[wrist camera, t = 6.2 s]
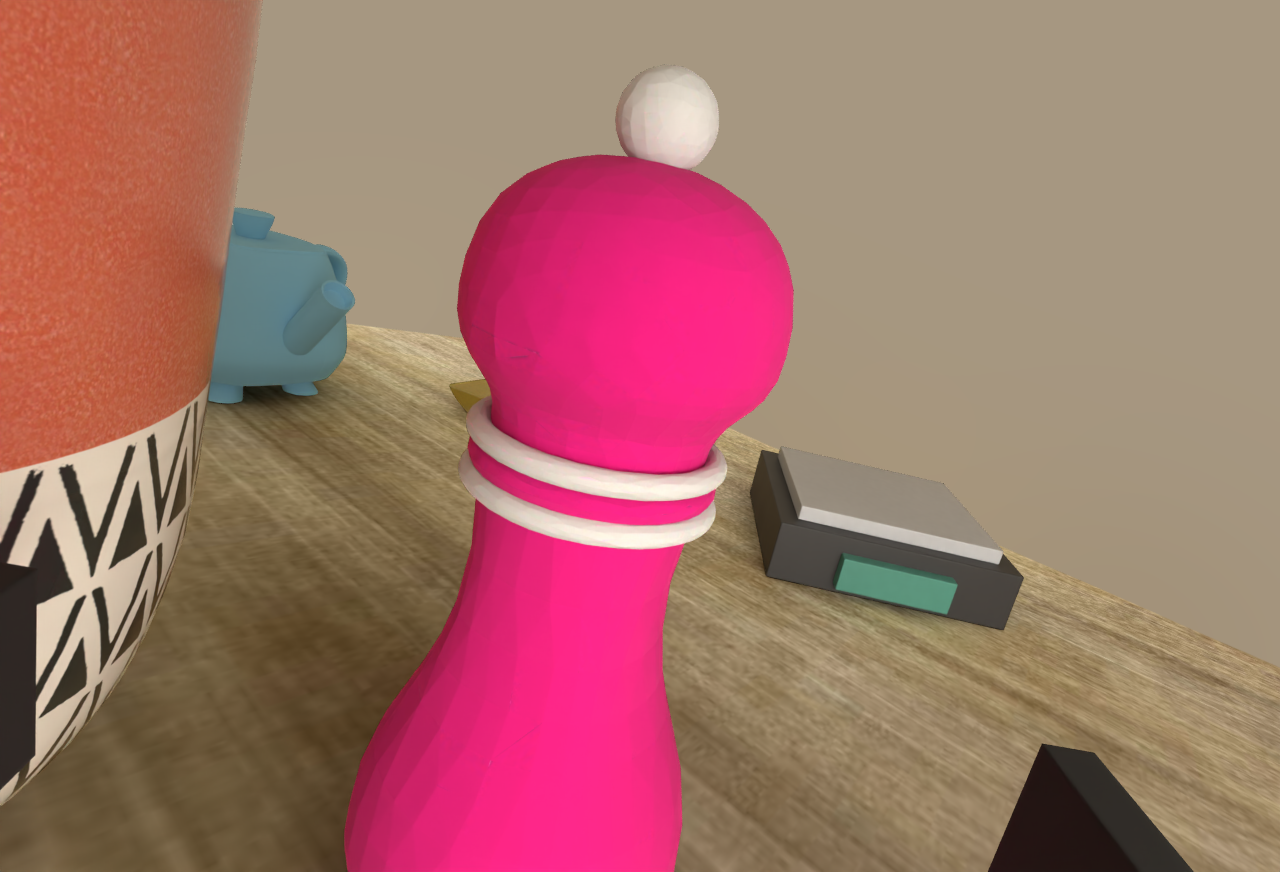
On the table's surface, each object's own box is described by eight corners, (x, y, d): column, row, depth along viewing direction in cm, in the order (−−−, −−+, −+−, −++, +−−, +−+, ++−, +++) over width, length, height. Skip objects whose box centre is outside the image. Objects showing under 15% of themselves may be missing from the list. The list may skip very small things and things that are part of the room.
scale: (1009, 638, 43) (1036, 570, 42) (766, 583, 43) (787, 513, 42) (935, 535, 57) (954, 481, 55) (749, 493, 57) (764, 438, 55)
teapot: (55, 388, 47) (59, 186, 44) (155, 339, 60) (164, 180, 57) (333, 433, 50) (355, 246, 47) (372, 377, 63) (391, 228, 60)
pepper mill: (248, 996, 18) (360, -27, 12) (459, 806, 24) (597, 79, 18) (528, 1220, 15) (839, 41, 9) (681, 938, 21) (922, 137, 16)
